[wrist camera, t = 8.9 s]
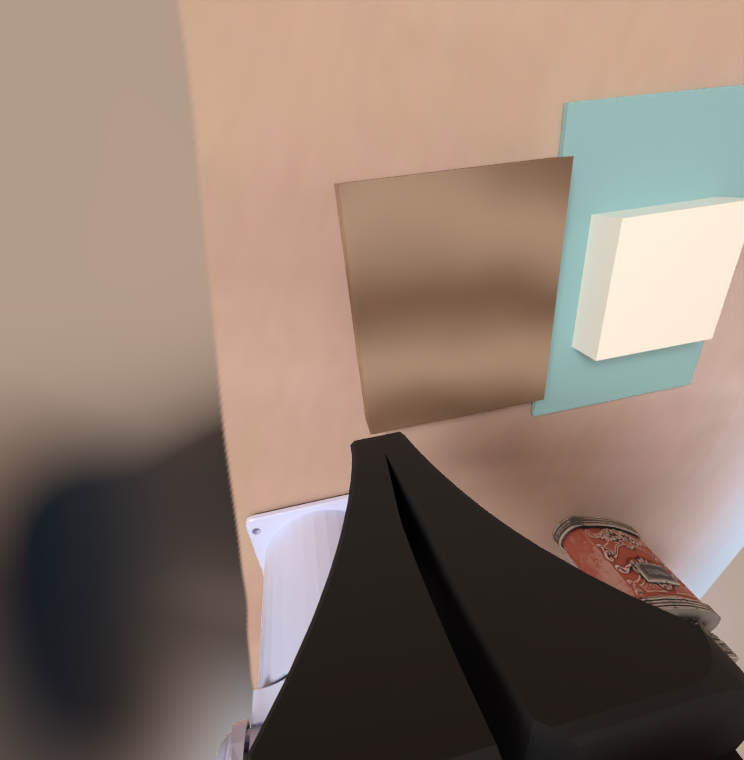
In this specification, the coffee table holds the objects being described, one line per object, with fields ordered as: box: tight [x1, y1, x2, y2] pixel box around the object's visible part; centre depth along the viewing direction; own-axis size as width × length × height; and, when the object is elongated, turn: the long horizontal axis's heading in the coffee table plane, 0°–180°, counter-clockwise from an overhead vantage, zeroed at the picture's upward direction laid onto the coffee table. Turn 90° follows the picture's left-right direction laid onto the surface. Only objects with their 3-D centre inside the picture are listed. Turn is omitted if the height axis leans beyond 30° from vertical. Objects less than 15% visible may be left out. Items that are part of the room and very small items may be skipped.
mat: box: [531, 85, 744, 417], centre depth 21 cm, size 16×11×1 cm
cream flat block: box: [572, 197, 744, 361], centre depth 20 cm, size 7×7×2 cm
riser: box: [335, 156, 574, 434], centre depth 19 cm, size 12×10×2 cm
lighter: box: [553, 516, 739, 662], centre depth 27 cm, size 8×3×10 cm, turn 68°
